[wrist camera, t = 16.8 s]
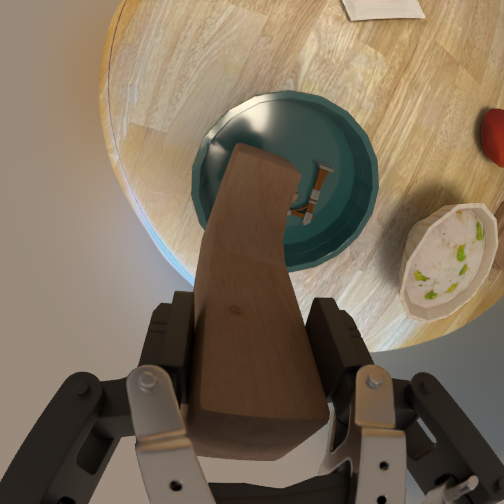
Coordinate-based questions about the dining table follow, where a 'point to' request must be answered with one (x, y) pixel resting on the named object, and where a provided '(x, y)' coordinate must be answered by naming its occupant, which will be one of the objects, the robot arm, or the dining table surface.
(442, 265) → the bowl
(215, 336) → the wooden block
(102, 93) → the dining table surface
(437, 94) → the dining table surface
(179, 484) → the robot arm
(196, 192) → the teal bowl
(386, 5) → the dessert
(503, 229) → the candle holder
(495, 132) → the tomato
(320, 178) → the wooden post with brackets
